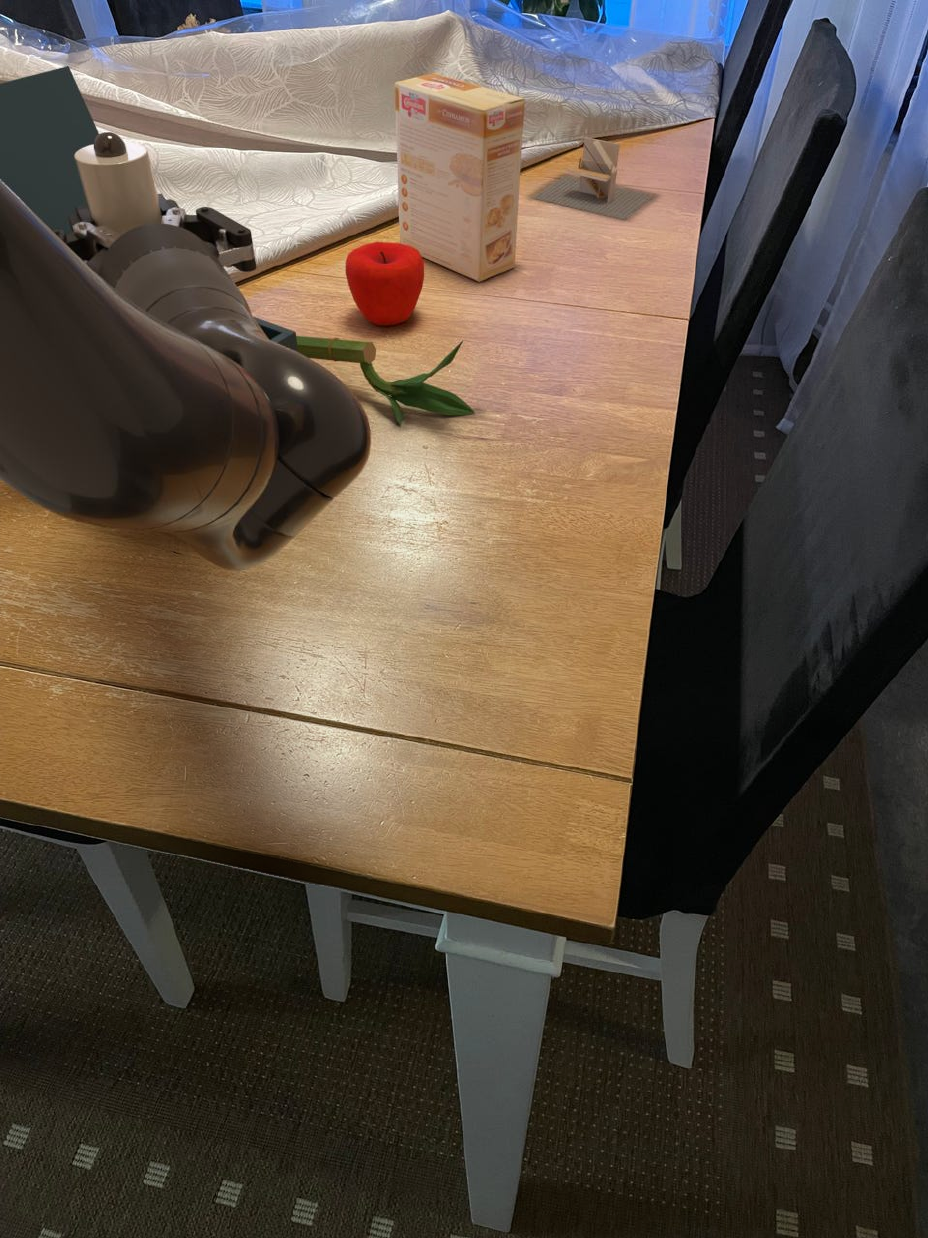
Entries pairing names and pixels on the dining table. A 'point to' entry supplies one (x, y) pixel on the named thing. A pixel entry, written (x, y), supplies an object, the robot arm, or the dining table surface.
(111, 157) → the pepper mill
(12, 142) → the lid
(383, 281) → the apple
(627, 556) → the dining table surface
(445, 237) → the coffeecake box
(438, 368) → the decorative plant
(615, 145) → the architectural model
